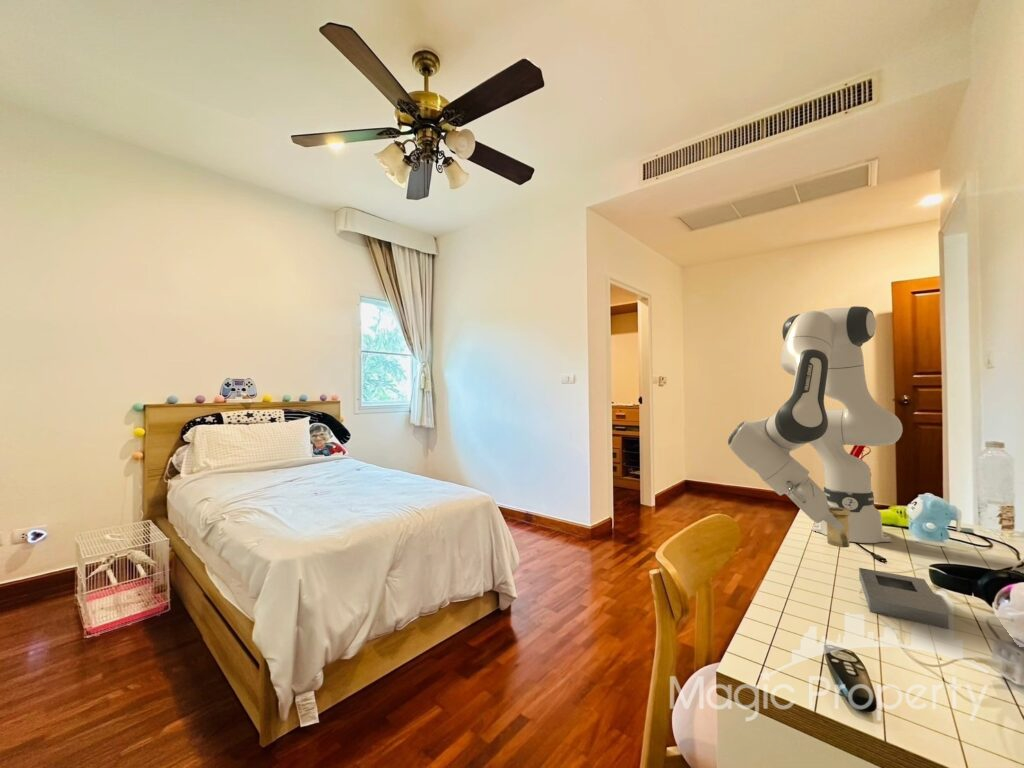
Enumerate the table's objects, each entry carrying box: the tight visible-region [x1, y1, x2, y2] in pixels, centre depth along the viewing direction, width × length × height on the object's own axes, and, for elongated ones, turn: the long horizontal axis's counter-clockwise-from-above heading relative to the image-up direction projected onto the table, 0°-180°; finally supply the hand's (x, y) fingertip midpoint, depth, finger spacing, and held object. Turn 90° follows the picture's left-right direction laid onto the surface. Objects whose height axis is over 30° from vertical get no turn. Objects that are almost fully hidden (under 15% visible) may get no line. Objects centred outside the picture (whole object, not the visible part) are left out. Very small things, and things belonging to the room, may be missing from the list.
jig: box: [858, 567, 950, 630], centre depth 86 cm, size 18×11×2 cm, turn 145°
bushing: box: [826, 506, 851, 548], centre depth 94 cm, size 5×5×8 cm
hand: (841, 525), depth 94 cm, fingers closed on bushing, 4 cm apart
